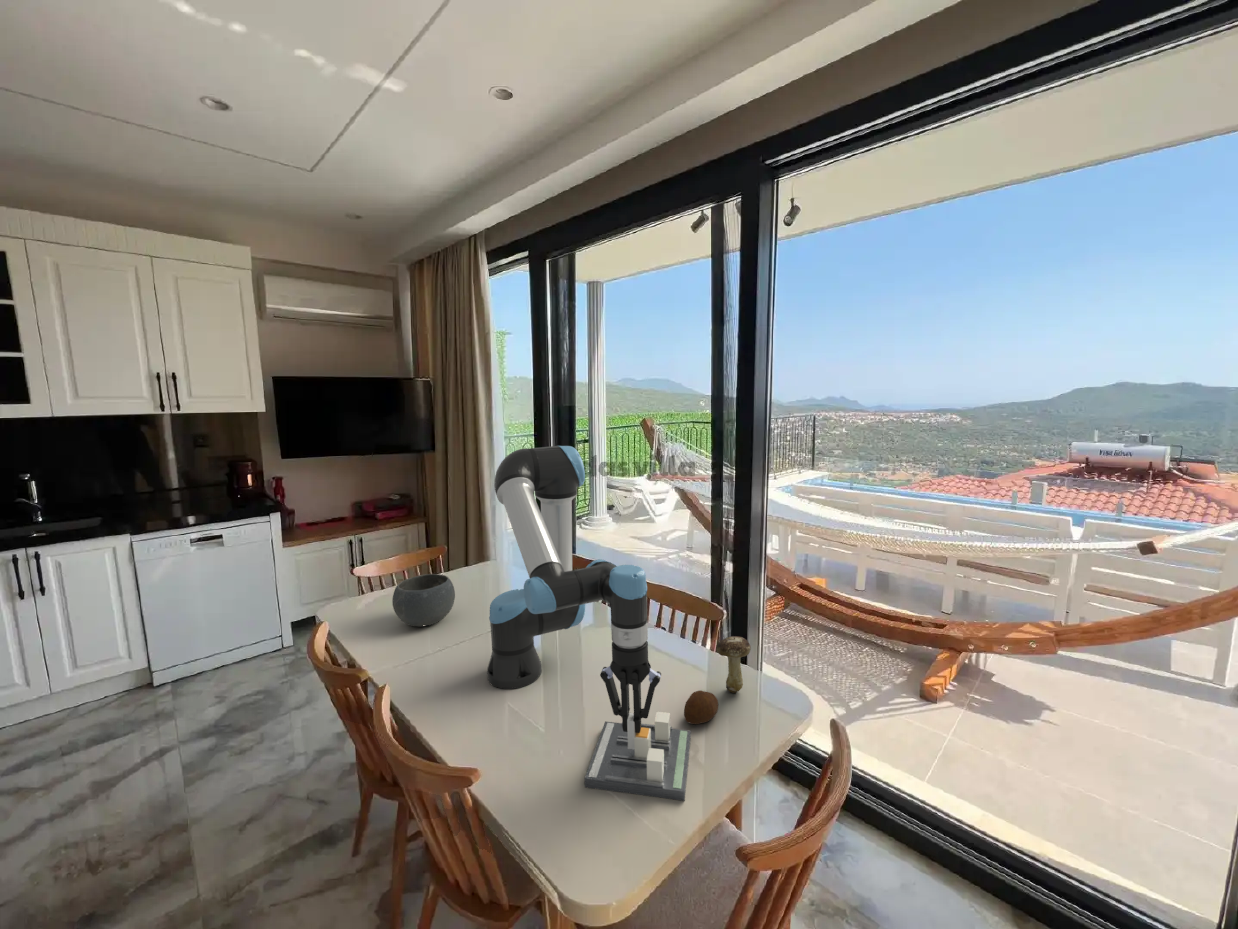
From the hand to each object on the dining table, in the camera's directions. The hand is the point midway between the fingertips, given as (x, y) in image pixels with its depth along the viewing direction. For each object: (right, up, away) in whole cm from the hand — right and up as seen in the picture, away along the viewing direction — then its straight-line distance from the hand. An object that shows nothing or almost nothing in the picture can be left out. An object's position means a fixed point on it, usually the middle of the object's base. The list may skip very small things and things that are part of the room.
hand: (632, 744), depth 108 cm
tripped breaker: (+2, -2, 0) cm, 3 cm away
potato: (+17, -2, +14) cm, 22 cm away
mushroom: (+27, 0, +24) cm, 37 cm away
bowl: (-71, +4, +71) cm, 101 cm away
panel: (+2, -4, 0) cm, 4 cm away
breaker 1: (+7, -1, +5) cm, 9 cm away
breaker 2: (+4, -2, -7) cm, 8 cm away
